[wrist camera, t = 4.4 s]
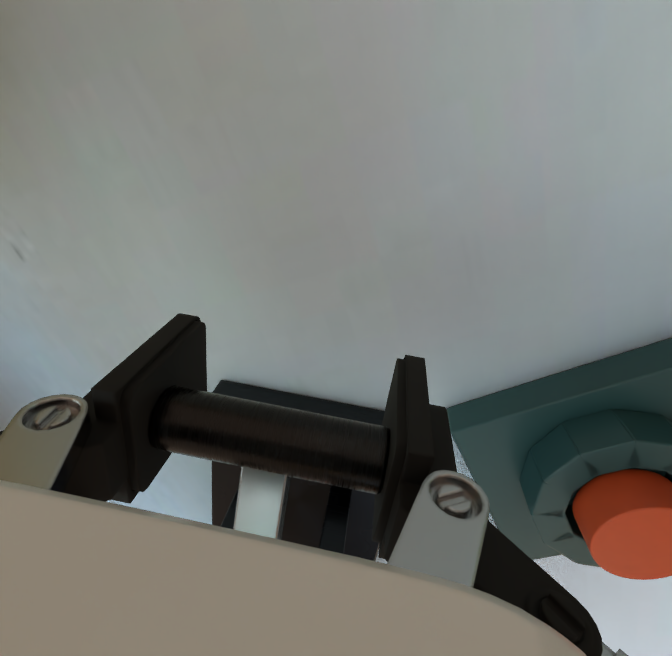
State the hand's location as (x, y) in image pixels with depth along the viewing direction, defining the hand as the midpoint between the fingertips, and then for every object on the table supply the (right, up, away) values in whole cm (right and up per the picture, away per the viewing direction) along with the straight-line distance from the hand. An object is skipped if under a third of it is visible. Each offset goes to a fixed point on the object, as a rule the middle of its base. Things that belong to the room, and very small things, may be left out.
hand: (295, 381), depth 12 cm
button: (+12, -5, +3) cm, 14 cm away
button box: (+12, -4, +6) cm, 14 cm away
